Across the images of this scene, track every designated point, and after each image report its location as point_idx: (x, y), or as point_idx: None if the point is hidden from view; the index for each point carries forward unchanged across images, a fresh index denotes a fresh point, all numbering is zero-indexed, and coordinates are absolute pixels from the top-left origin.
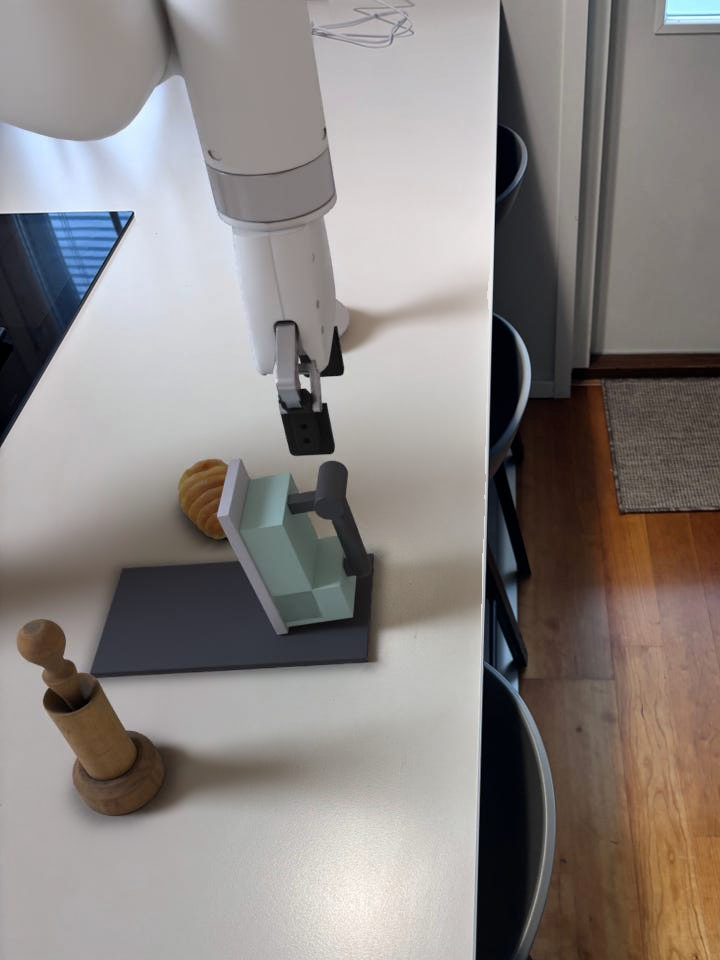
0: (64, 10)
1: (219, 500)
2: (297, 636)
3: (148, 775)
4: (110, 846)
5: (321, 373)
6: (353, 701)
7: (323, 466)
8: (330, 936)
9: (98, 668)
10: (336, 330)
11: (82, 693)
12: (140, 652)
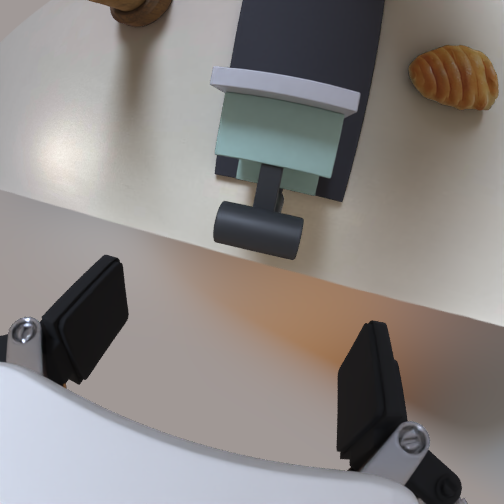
0: None
1: (444, 77)
2: None
3: (120, 22)
4: (103, 10)
5: (352, 352)
6: (179, 157)
7: (289, 235)
8: (48, 142)
9: None
10: (340, 456)
11: None
12: None
